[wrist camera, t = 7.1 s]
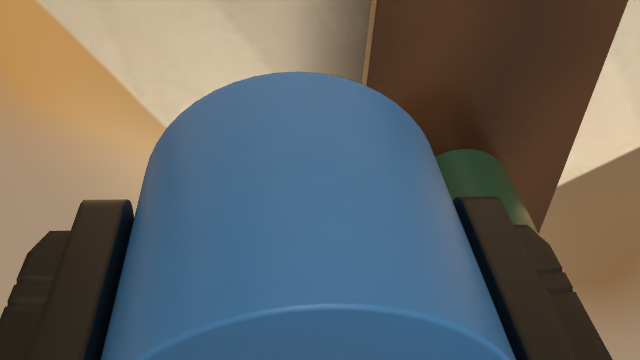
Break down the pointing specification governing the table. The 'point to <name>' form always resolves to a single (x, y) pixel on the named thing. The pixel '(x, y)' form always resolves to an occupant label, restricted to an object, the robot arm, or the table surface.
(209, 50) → the table surface
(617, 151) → the table surface
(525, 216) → the tea tin
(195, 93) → the table surface
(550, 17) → the shelf
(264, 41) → the table surface
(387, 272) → the tape roll
